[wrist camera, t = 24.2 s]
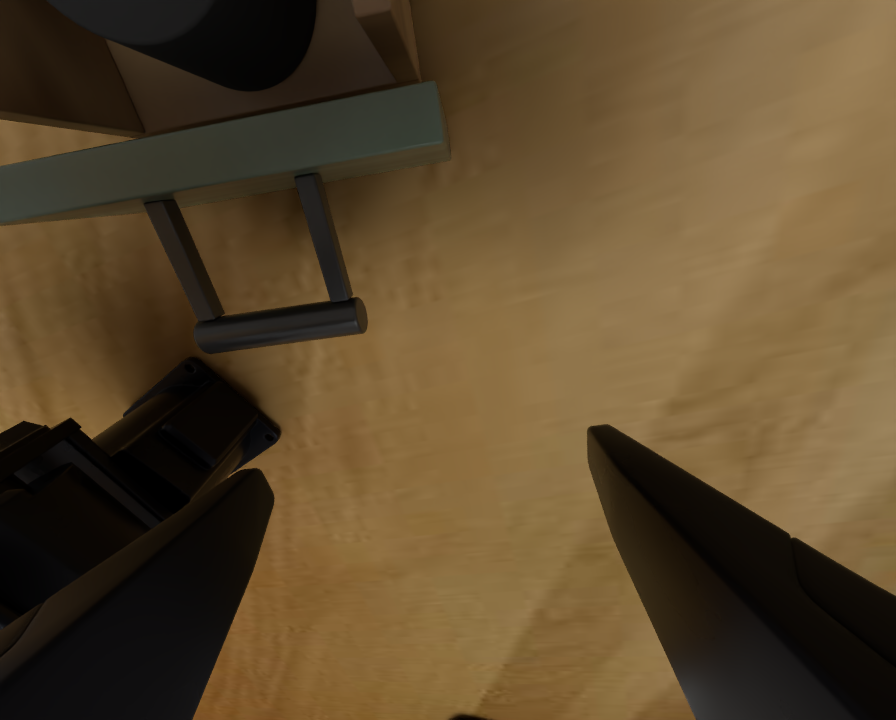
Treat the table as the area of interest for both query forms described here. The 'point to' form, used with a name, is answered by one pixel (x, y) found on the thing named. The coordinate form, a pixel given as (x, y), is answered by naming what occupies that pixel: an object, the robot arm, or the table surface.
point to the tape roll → (207, 35)
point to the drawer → (219, 143)
